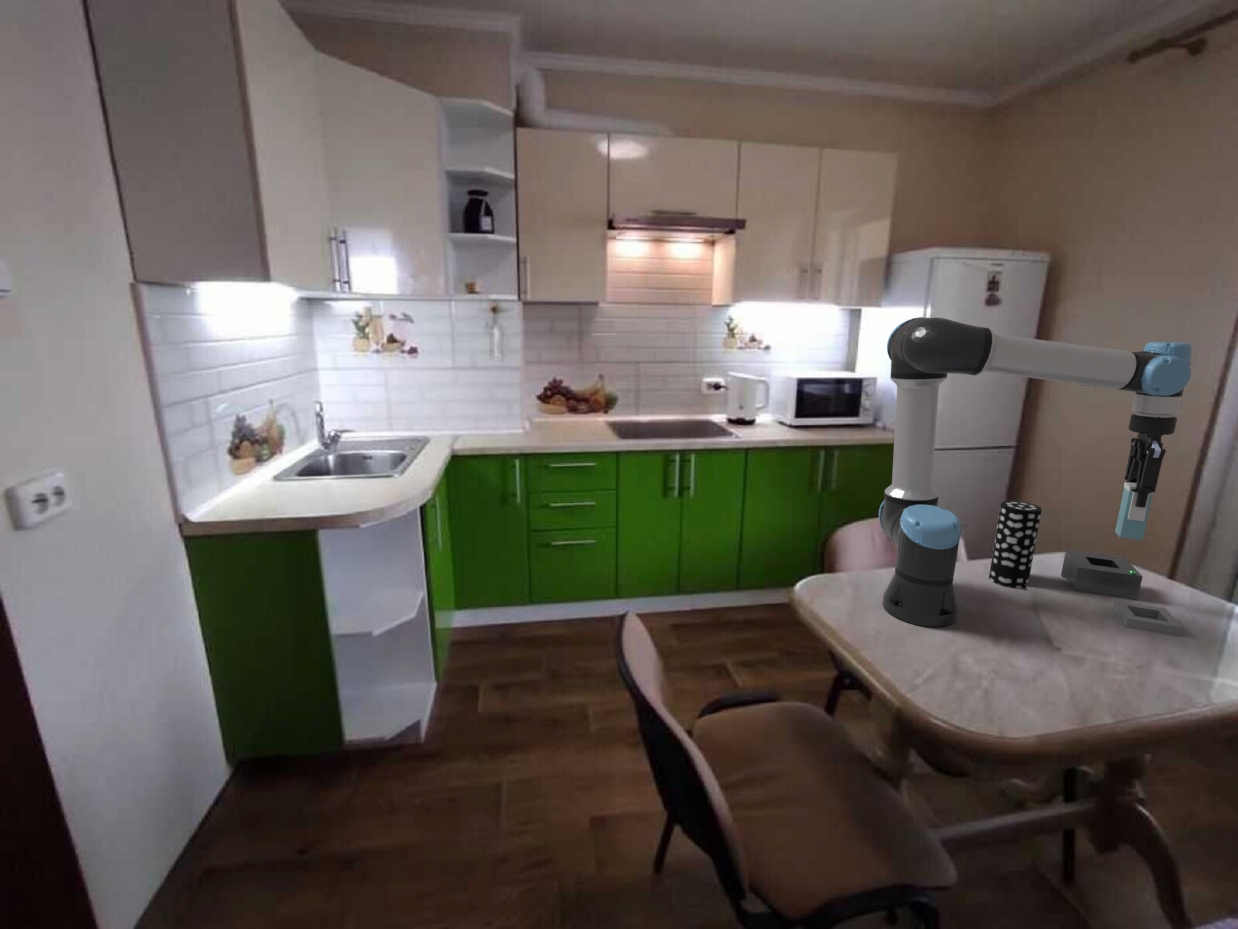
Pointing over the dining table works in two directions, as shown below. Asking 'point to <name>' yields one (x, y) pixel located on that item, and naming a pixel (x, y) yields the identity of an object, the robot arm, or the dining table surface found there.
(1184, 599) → the dining table surface
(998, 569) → the spotted tube
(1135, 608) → the square frame socket
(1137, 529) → the plug
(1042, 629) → the dining table surface
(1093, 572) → the port
